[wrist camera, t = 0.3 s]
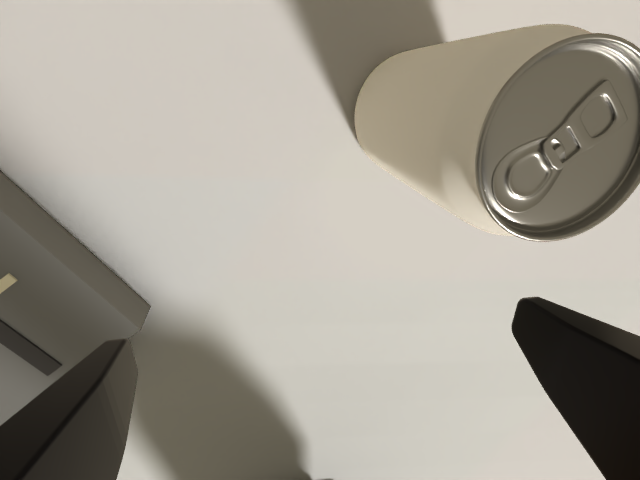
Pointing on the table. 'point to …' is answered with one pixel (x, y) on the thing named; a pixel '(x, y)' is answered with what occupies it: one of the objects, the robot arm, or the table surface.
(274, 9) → the table surface
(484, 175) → the can
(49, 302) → the console
